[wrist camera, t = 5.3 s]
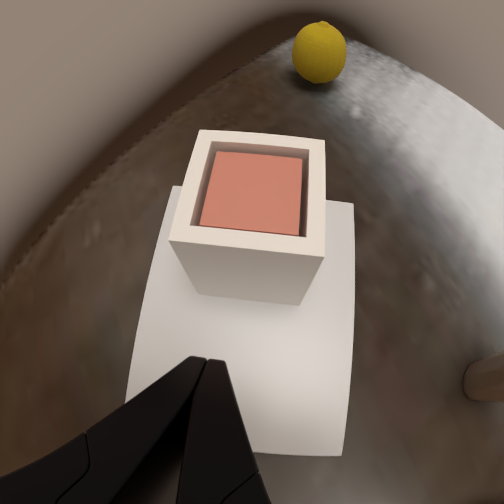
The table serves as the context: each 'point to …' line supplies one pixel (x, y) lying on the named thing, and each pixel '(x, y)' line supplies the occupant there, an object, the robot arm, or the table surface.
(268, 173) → the salmon pink square block
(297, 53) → the lemon
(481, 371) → the takeaway coffee cup
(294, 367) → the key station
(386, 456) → the table surface
